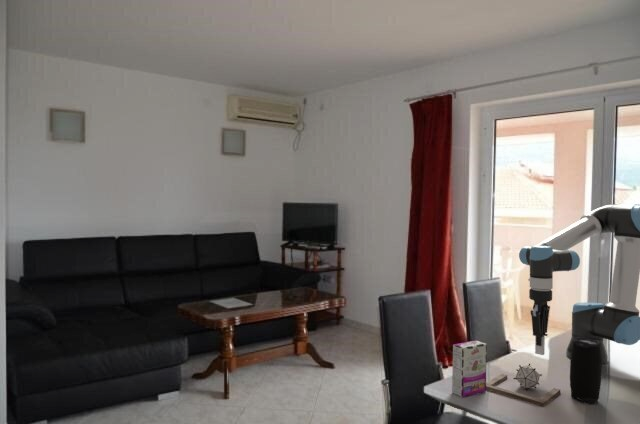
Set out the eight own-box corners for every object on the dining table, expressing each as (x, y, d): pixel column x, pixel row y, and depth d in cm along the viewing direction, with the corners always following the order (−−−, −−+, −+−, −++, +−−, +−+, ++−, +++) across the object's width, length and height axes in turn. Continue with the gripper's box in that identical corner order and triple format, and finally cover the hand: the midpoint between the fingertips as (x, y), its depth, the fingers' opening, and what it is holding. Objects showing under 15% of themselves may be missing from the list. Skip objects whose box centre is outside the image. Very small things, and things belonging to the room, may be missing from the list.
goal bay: (501, 377, 176) (501, 373, 176) (560, 393, 162) (560, 389, 162) (482, 388, 164) (482, 384, 164) (543, 406, 151) (543, 403, 151)
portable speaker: (604, 400, 157) (607, 341, 156) (591, 407, 151) (594, 345, 151) (577, 391, 164) (580, 334, 163) (563, 398, 158) (566, 338, 158)
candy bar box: (474, 387, 165) (476, 339, 165) (486, 392, 161) (488, 343, 161) (450, 392, 160) (452, 343, 160) (461, 398, 156) (463, 347, 155)
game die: (532, 400, 165) (549, 383, 159) (509, 390, 165) (524, 373, 159) (530, 379, 172) (545, 363, 166) (507, 370, 172) (522, 353, 167)
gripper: (536, 285, 181) (535, 347, 182) (523, 290, 171) (522, 355, 172) (557, 287, 176) (556, 352, 176) (545, 292, 166) (544, 360, 167)
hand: (539, 353), depth 174 cm, fingers closed
